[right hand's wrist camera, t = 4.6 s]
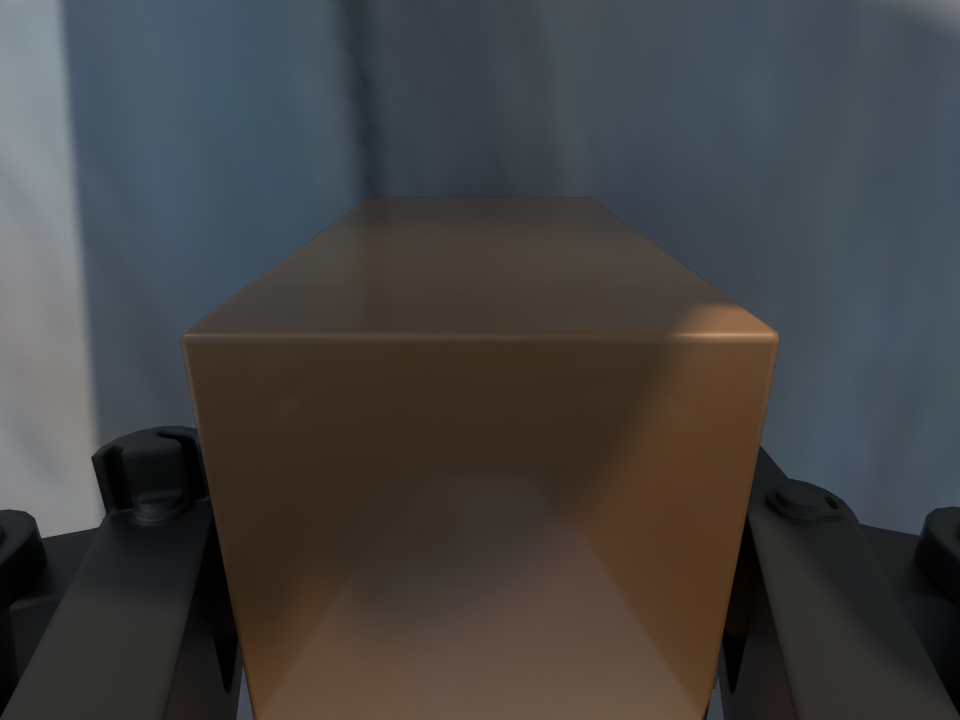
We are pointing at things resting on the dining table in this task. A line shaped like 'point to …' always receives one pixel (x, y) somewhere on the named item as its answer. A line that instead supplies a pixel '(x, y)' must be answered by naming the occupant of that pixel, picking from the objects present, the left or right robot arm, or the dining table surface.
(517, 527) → the bar
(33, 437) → the dining table surface
